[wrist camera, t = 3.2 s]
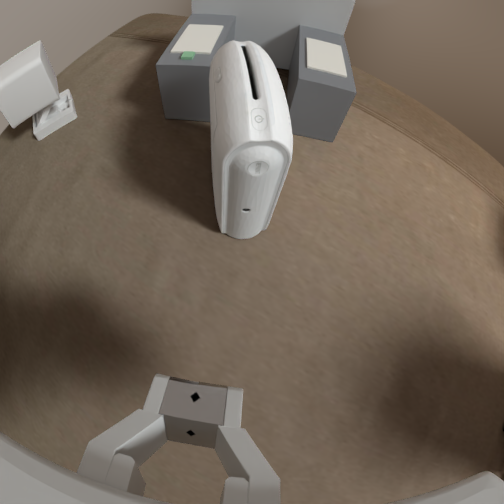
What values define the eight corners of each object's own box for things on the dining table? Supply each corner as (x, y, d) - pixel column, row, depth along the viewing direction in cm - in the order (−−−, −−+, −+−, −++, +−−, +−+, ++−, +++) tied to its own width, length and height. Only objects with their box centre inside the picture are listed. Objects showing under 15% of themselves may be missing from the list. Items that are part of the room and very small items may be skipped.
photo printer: (271, 239, 23) (314, 133, 12) (217, 243, 23) (213, 135, 11) (255, 139, 27) (273, 26, 15) (209, 141, 26) (207, 26, 14)
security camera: (26, 120, 26) (-6, 67, 16) (71, 93, 28) (47, 34, 18) (28, 150, 24) (-12, 93, 15) (78, 119, 26) (48, 53, 17)
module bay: (165, 118, 27) (148, 17, 15) (196, 54, 31) (194, -25, 20) (332, 142, 27) (377, 48, 16) (327, 73, 32) (353, -2, 20)
